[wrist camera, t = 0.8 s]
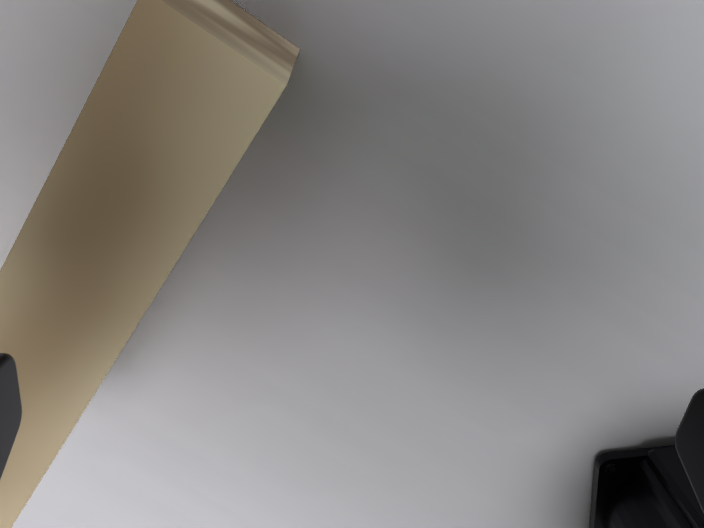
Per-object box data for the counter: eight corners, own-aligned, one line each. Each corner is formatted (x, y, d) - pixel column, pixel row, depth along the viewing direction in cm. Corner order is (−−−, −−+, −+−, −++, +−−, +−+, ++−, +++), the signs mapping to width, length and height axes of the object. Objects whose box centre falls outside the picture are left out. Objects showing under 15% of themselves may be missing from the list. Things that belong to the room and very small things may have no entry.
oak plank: (300, 49, 19) (286, 85, 12) (102, 369, 23) (3, 540, 16) (214, -11, 18) (143, -12, 11) (26, 331, 23) (-114, 494, 15)
